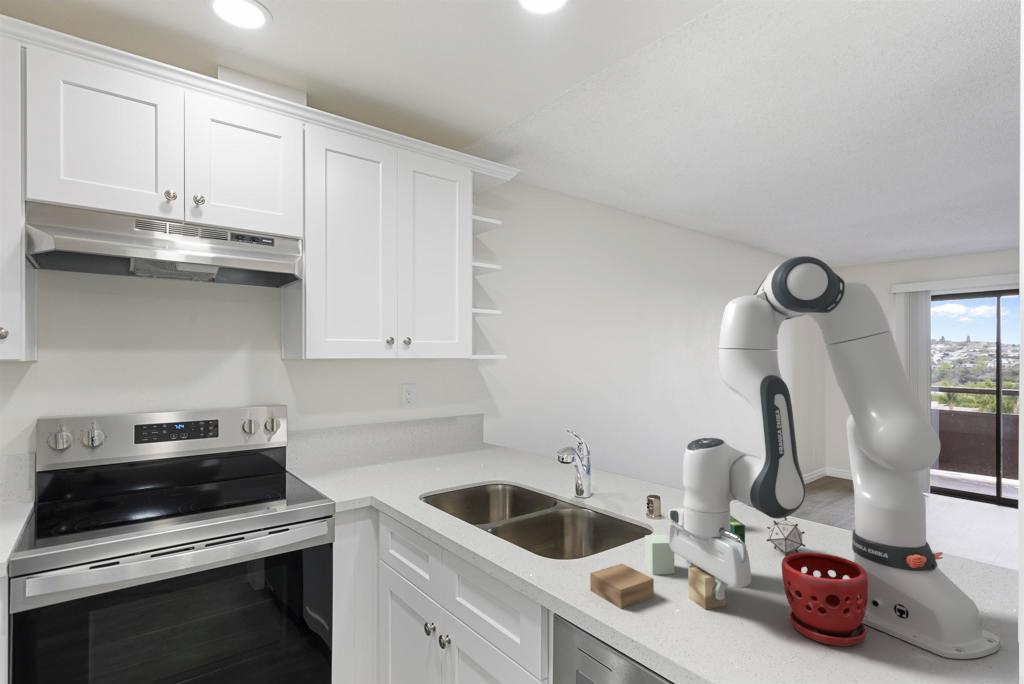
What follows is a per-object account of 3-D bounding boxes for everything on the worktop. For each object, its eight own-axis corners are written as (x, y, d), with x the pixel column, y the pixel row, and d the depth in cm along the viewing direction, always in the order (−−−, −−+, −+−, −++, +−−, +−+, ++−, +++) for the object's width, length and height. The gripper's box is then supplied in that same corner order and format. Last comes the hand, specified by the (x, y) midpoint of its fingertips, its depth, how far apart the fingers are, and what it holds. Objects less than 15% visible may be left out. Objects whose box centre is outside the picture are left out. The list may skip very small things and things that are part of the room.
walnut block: (653, 598, 106) (653, 578, 106) (621, 610, 101) (620, 589, 101) (622, 581, 114) (622, 563, 114) (590, 592, 109) (590, 573, 109)
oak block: (726, 605, 102) (726, 574, 103) (705, 609, 101) (705, 578, 101) (709, 594, 107) (708, 564, 107) (688, 598, 106) (688, 568, 106)
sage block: (674, 574, 117) (674, 542, 117) (652, 574, 116) (652, 543, 117) (666, 564, 122) (666, 534, 122) (645, 565, 121) (645, 535, 122)
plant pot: (836, 612, 100) (835, 549, 100) (887, 652, 86) (886, 579, 87) (768, 613, 99) (767, 550, 99) (810, 654, 86) (809, 581, 86)
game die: (780, 569, 128) (755, 537, 128) (780, 546, 135) (757, 515, 135) (816, 559, 123) (791, 525, 123) (815, 535, 130) (790, 503, 130)
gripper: (759, 536, 95) (760, 613, 95) (687, 505, 115) (687, 568, 115) (731, 541, 93) (732, 619, 93) (662, 508, 113) (663, 572, 113)
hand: (707, 590), depth 104 cm, fingers closed on oak block, 5 cm apart
